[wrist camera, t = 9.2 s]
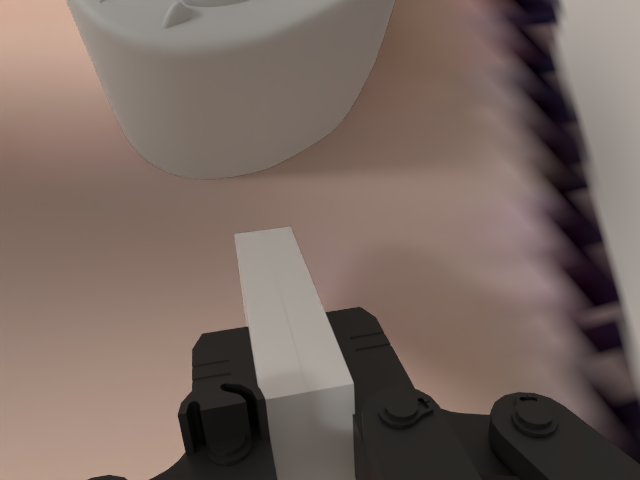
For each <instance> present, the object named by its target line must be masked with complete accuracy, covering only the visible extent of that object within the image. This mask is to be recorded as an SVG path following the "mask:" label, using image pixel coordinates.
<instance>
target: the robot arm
mask: <svg viewBox="0 0 640 480" xmlns="http://www.w3.org/2000/svg"><path fill="white" fill-rule="evenodd" d="M234 238H235V245H236V253H237V260H238V268H239V275H240V283H241V290H242V298H243V305H244V313H245V320H246V327H242V328H236V329H229V330H223V331H217V332H211V333H205V334H202V335H201V337H200V338H199V340H198V341H197V343H196V345H195V346H194V348H193V349H192V367H193V369H192V381H193V383H192V392H191V393H190V394H189V395H188V396H187V397H186V398H185V399H184V400H183V402H182V403H181V406H180V409H179V412H178V418H179V423H180V428H181V432H182V437H183V442H184V447H185V451H186V452H185V453H184V455H183V456H182V457H181V458H180V460H179V461H178V462H177V463H175V464H174V465H173V466H172V467H170V468H169V469H168V470H166V471H165V472H163V473H161V474H159V475H158V476H156V477H154V478H152V479H149V480H640V464H638V463H637V462H636V461H634V460H633V459H632V458H631V457H629V456H628V455H627V454H625V453H624V452H623V451H622V450H620V449H619V448H618V447H616V446H615V445H614V444H612V443H611V442H610V441H609V440H607V439H606V438H605V437H603V436H602V435H601V434H599V433H598V432H597V431H596V430H594V429H593V428H592V427H590V426H589V425H588V424H587V423H585V422H584V421H583V420H581V419H580V418H579V417H577V416H576V415H575V414H574V413H572V412H571V411H570V410H568V409H567V408H566V407H565V406H563V405H561V404H560V403H558V402H556V401H554V400H553V399H551V398H549V397H545V396H542V395H538V394H535V393H522V392H517V393H513V394H509V395H504V396H503V397H502V398H500V399H499V400H497V401H496V402H495V403H494V405H493V408H492V410H491V413H490V415H481V414H463V413H456V412H450V411H447V410H443V409H440V407H439V405H438V404H437V403H436V402H435V401H434V400H433V399H432V398H431V397H430V396H429V395H427V394H425V393H423V392H421V391H419V390H417V389H415V388H414V386H413V384H412V382H411V380H410V379H409V377H408V375H407V373H406V371H405V370H404V368H403V366H402V364H401V362H400V361H399V359H398V357H397V355H396V353H395V351H394V350H393V348H392V346H390V342H389V341H388V339H387V337H386V335H384V332H383V330H382V328H381V326H380V324H379V322H378V321H377V319H376V317H374V316H373V315H371V314H370V313H368V312H367V311H365V310H364V309H363V308H361V307H357V308H350V309H344V310H338V311H332V312H325V311H324V308H323V306H322V303H321V301H320V298H319V296H318V293H317V291H316V289H315V286H314V284H313V281H312V279H311V276H310V274H309V271H308V269H307V266H306V264H305V261H304V259H303V256H302V254H301V251H300V249H299V247H298V244H297V242H296V239H295V237H294V234H293V232H292V229H291V227H290V226H289V227H282V228H274V229H267V230H259V231H252V232H244V233H237V234H234ZM88 480H127V479H126V478H124V477H119V476H112V475H106V476H100V477H94V478H90V479H88Z"/></svg>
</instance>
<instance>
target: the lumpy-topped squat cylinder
mask: <svg viewBox="0 0 640 480" xmlns="http://www.w3.org/2000/svg"><path fill="white" fill-rule="evenodd" d="M66 2H67V4H68V6H69V9H70V11H71V14H72V16H73V18H74V21H75V23H76V25H77V28H78V30H79V32H80V35H81V37H82V39H83V42H84V44H85V46H86V49H87V51H88V53H89V56H90V58H91V61H92V63H93V65H94V68H95V70H96V72H97V75H98V77H99V79H100V82H101V84H102V86H103V89H104V91H105V93H106V96H107V98H108V100H109V103H110V105H111V107H112V110H113V112H114V114H115V117H116V119H117V121H118V123H119V125H120V127H121V129H122V131H123V133H124V134H125V136H126V138H127V139H128V141H129V142H130V144H131V145H132V146H133V148H134V149H135V150H136V151H137V152H138V153H139V154H140V155H141V156H142V157H143V158H144V159H145V160H146V161H148V162H149V163H151V164H152V165H154V166H155V167H157V168H159V169H161V170H163V171H166V172H168V173H171V174H174V175H177V176H180V177H185V178H191V179H221V178H229V177H235V176H241V175H246V174H250V173H254V172H258V171H262V170H265V169H267V168H270V167H272V166H275V165H277V164H279V163H281V162H283V161H285V160H287V159H289V158H291V157H292V156H294V155H296V154H298V153H300V152H301V151H303V150H305V149H306V148H308V147H310V146H311V145H313V144H315V143H316V142H318V141H319V140H321V139H322V138H324V137H325V136H327V135H328V134H330V133H331V132H332V131H334V130H335V129H336V128H337V127H338V126H339V124H340V123H341V122H342V121H343V119H344V118H345V117H346V115H347V114H348V112H349V111H350V109H351V107H352V106H353V104H354V102H355V101H356V99H357V97H358V96H359V94H360V92H361V90H362V88H363V86H364V85H365V83H366V81H367V79H368V77H369V75H370V72H371V70H372V68H373V66H374V64H375V61H376V59H377V56H378V53H379V49H380V46H381V44H382V41H383V38H384V36H385V33H386V29H387V26H388V23H389V20H390V16H391V13H392V10H393V7H394V3H395V0H66Z"/></svg>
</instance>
